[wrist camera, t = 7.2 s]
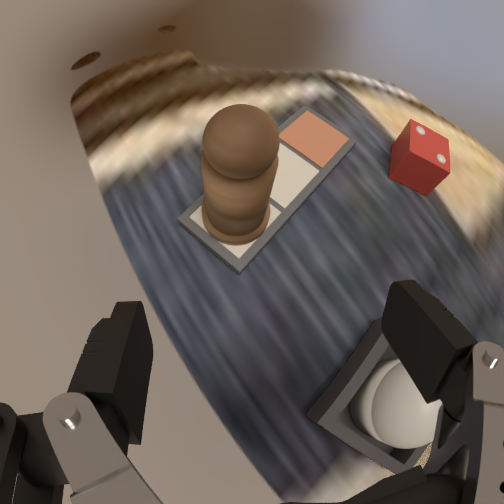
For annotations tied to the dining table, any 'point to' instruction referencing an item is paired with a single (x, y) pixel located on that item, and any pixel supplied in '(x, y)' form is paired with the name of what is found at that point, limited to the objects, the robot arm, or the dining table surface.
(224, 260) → the track board
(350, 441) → the base
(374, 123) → the dining table surface
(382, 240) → the dining table surface
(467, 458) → the robot arm
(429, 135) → the red die
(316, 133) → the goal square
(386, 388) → the dome
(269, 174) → the wooden pawn
